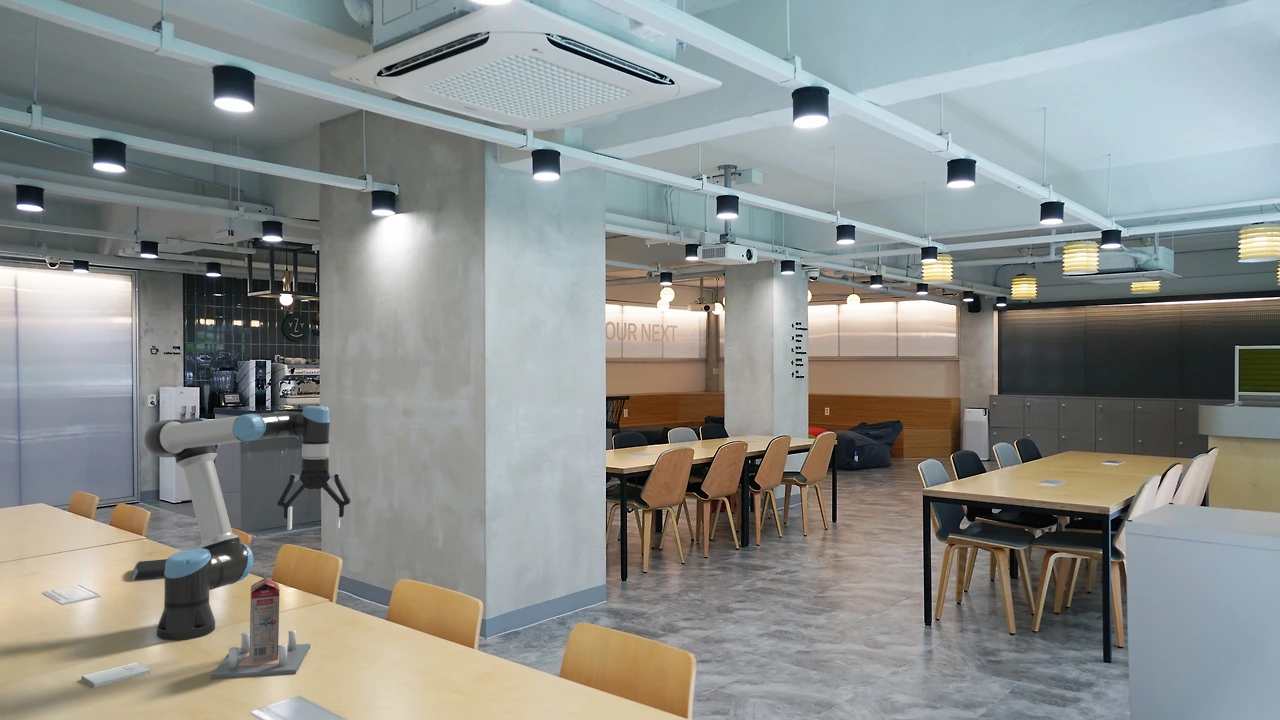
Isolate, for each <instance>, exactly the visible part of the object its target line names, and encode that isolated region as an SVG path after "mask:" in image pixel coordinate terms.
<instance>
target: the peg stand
mask: <svg viewBox="0 0 1280 720" xmlns="http://www.w3.org/2000/svg"><path fill="white" fill-rule="evenodd" d="M240 643H241V644H240V645H241V647H236V646H235V647H234V646H233V647H230V648H229V649H228V654H226V657H225V658H224V659H223V660H222V661H221V663H220V664H219V665H218V666H217V667H216V668H215V670H214V671H213V672H212V674H211V675H210V676H211V679H228V678H245V677H247V678H248V677H258V676H259V677H261V676H277V675H292V674H293V675H294V674H295V675H296V674H297V672H298V671H299V668H300V666H301V665H302V663H303V662H304V659H305V658H306V656H307V654H308V652H309V651H310V649H311V643H300V644H297V630H296V629H291V630H289V631H288V644H281V645H280V644H278V660H273V661H266V662H258V663H251V664H250V656H249V653H250V631H249V632H247V631H246V632H242V633H241V640H240Z"/></svg>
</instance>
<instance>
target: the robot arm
mask: <svg viewBox="0 0 1280 720" xmlns="http://www.w3.org/2000/svg"><path fill="white" fill-rule="evenodd" d="M330 417H331V416H330V408H329V407H328V406H325V405H306V406H304V407H303V408H302V411H301V412H298V411H286V410H283V411H274V412H267V413H245V414H241V415H237V416H229V417H221V418H215V419H208V418H203V417H201V418H199V417H192V418H191V417H190V418H181V419H164V420H160V421H157V422H155V423H153V424H152V425H150V426H149V428H147V430H146V432H145V433H144V437H143V438H144V439H143V442H144V445H145V448H146V449H147V451H148V452H149V453H150V454H152V455H154V456H156V457H159V458H166V459H167V458H174V459H175V463H176V465H177V466H178V467H180V468H182V469H183V473H184V476H185V480H186V482H187V487H188V491H189V496H190V499H191V502H192V506H193V510H194V515H195V519H196V521H197V522H196V523H197V524H198V529H199V534H200V537H201V544H200V545H199V547H198V548H191V549H184V550H182V551H178V552H175V553H174V554H171V555H170V556H169V557H168V558H166V559H167V561H166V566H165V571H164V575H165V578H164V600H163V601H164V602H163V603H164V605H163V611H162V612H161V616H160V619H159V621H158V623H157V626H156V637H157V638H159V639H161V640H165V641H167V640H168V641H174V640H175V641H179V640H187V639H194V638H199V637H202V636H205V635H208V634H210V633H212V632H213V631H215V630H216V619H215V616H214V614H213V611H212V607H211V605H210V591H212V590H215V589H218V588H222V587H225V586H228V585H233V584H235V583H238V582H240V581H242V580H244V579H245V578H247V577H248V575H250V573H251V570H252V568H253V565H254V554H253V551H252V550H251V548H250V547H249V546H248V545H247V544H246V543H243V542H241V540H240V536H239V535H238V534H235V533H233V530H232V527H231V523H230V519H229V515H228V511H227V508H226V503H225V500H224V496H223V492H222V488H221V484H220V481H219V477H218V473H217V469H216V465H215V462H214V461H215V459H216V457H217V456H218V453H217V450H218V449H219V448H220V446H221V445H224V444H232V443H240V442H251V441H258V440H259V441H260V440H268V439H279V438H290V437H291V438H293V437H294V438H302V439H301V440H302V441H301V442H302V443H301V457H302V459H301V472H300V474H296V473H291V474H290V476H289V481H288V483H287V485H286V487H284V490H283V492H282V494H281V496H280V498H279V500H278V501H277V504H276V505H277V506H278V507H283V518H284V519H287V527H286V528H287V529H286V530H287V531H291V530H292V529H293V506H291V504H293V502H294V501H296V499H297V498H298V497H299V496H300V495H301V494H302V493H303V491H304V490H305V489H306V488H307V489H308V490H314V489H316V490H320V489H323V490H324V491H326V493H327V494H328V495H329V496H330V497H331V498H332V500H333V501H334V502H335V503H336V504H337V506H336V508H335V511H336V514H335V516H336V517H335V518H336V519H335V529H336V530H338V529H340V528H341V518H343V517H344V516H345V506H347V505H349V504H351V501H352V500H351V499H350V496H349V495H348V492H347V490H346V489H345V487H344V485H343V483H342V481H341V476H340V473H339V472H337V473H333V474H330V470H329V467H330V466H329V465H330V463H329V462H330V459H329V458H328V457H329V455H330V425H331V418H330ZM298 480H300V481H301V483H302V485H300V486H299V488H298V489H297V490H296V491H295V492H294V493H293V494H292V496H291V497H289V499H288V500H287V501H286V499H287V498H288V495H289V494H290V492H291V490H292V488H293V486H294V485H295V483H296V482H297V481H298ZM329 480H332V482H334V483H335V485H336V487H337V489H338V491H339V493H340V495H341V497H342V498H341V497H340V496H339V495H338V494H337V492H335V490H334V489H333V488H332V487H331V485H330V484H329V483H328V481H329Z"/></svg>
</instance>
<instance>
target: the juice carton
mask: <svg viewBox="0 0 1280 720" xmlns="http://www.w3.org/2000/svg"><path fill="white" fill-rule="evenodd" d="M249 612H250V613H249V614H250V616H249V617H250V618H249V619H250V620H249V633H250V645H249V647H250V653H249V656H250V664H251V663H258V662H266V661H273V660H278V645H279V626H280V625H279V622H280V587H279V583H278V582H275V581H274V580H271V579H267V577H266V572H264V573H263V578H262V579H261V580H259V581H257V582H255V583H253V584H252V585H251V587H250V611H249Z"/></svg>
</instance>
